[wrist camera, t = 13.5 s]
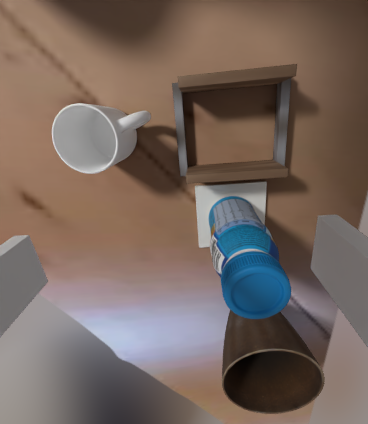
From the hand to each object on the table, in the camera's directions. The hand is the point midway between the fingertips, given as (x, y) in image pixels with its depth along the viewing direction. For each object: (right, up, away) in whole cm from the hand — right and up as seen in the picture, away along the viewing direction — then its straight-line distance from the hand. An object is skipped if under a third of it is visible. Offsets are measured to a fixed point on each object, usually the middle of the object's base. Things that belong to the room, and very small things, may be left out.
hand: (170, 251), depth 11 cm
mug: (-9, +15, +27) cm, 32 cm away
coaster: (+9, +1, +31) cm, 33 cm away
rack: (+8, +15, +26) cm, 31 cm away
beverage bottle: (+9, +1, +31) cm, 32 cm away
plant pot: (+15, -18, +39) cm, 45 cm away
